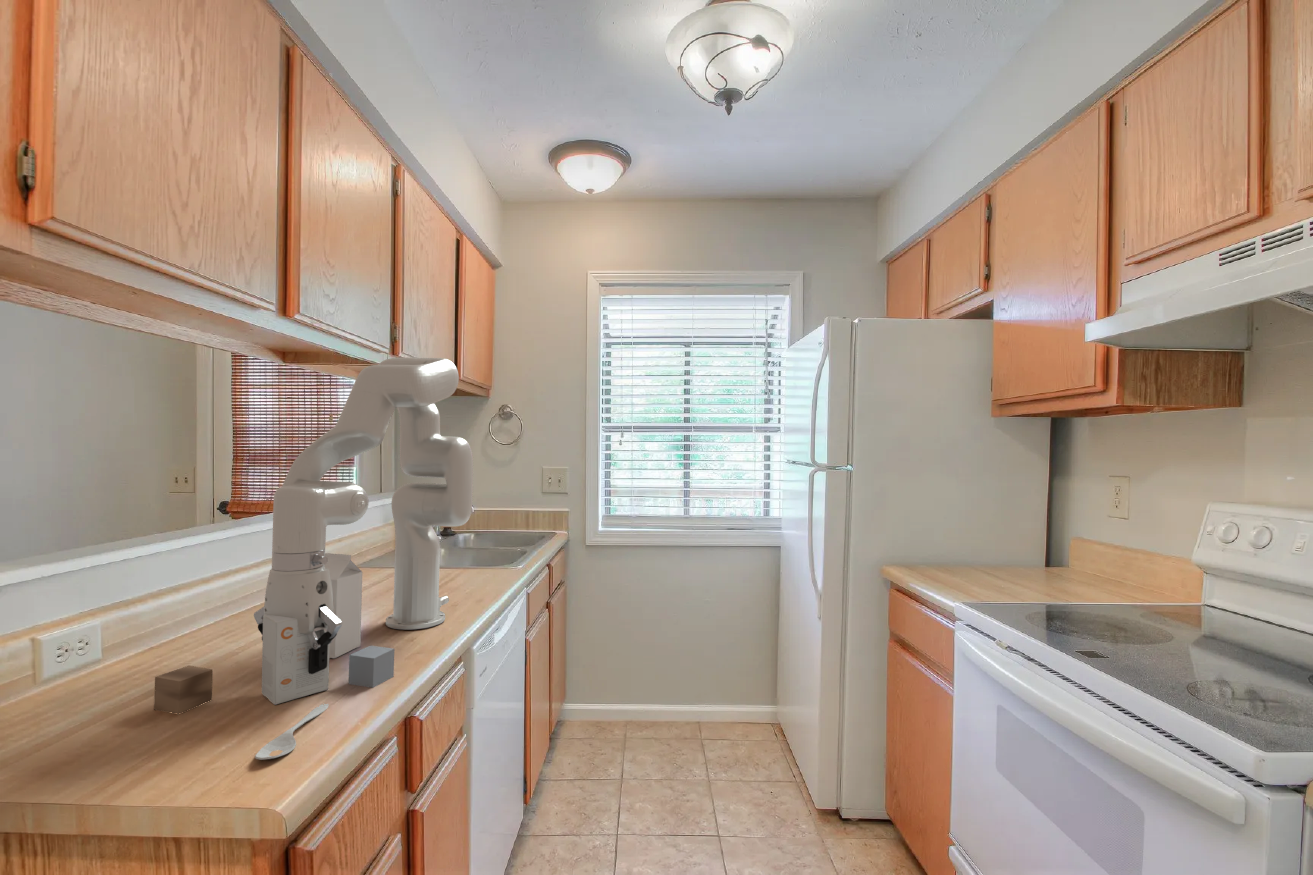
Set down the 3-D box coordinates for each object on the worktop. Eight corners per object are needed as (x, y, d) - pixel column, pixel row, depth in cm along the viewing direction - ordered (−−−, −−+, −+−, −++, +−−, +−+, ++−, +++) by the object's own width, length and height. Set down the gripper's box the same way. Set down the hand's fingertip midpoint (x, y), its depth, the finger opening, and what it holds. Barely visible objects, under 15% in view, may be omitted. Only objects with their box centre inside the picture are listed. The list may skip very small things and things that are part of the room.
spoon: (243, 771, 75) (244, 757, 75) (318, 699, 96) (319, 689, 96) (278, 770, 76) (279, 757, 76) (345, 699, 96) (346, 689, 96)
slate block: (369, 673, 106) (370, 645, 106) (393, 677, 105) (394, 648, 105) (348, 684, 101) (349, 654, 101) (373, 688, 100) (373, 658, 100)
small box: (314, 679, 103) (316, 604, 103) (329, 690, 99) (331, 611, 99) (259, 694, 96) (262, 613, 97) (273, 706, 92) (276, 622, 92)
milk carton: (334, 659, 112) (337, 558, 112) (302, 655, 114) (305, 556, 114) (360, 646, 119) (363, 551, 119) (329, 643, 121) (332, 549, 121)
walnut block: (187, 696, 95) (188, 665, 95) (211, 701, 94) (212, 669, 94) (153, 710, 90) (155, 677, 90) (178, 714, 89) (179, 681, 89)
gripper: (359, 560, 99) (356, 666, 99) (276, 553, 104) (273, 653, 103) (323, 569, 92) (320, 683, 92) (236, 561, 96) (232, 669, 96)
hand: (295, 667), depth 98 cm, fingers closed on small box, 8 cm apart
